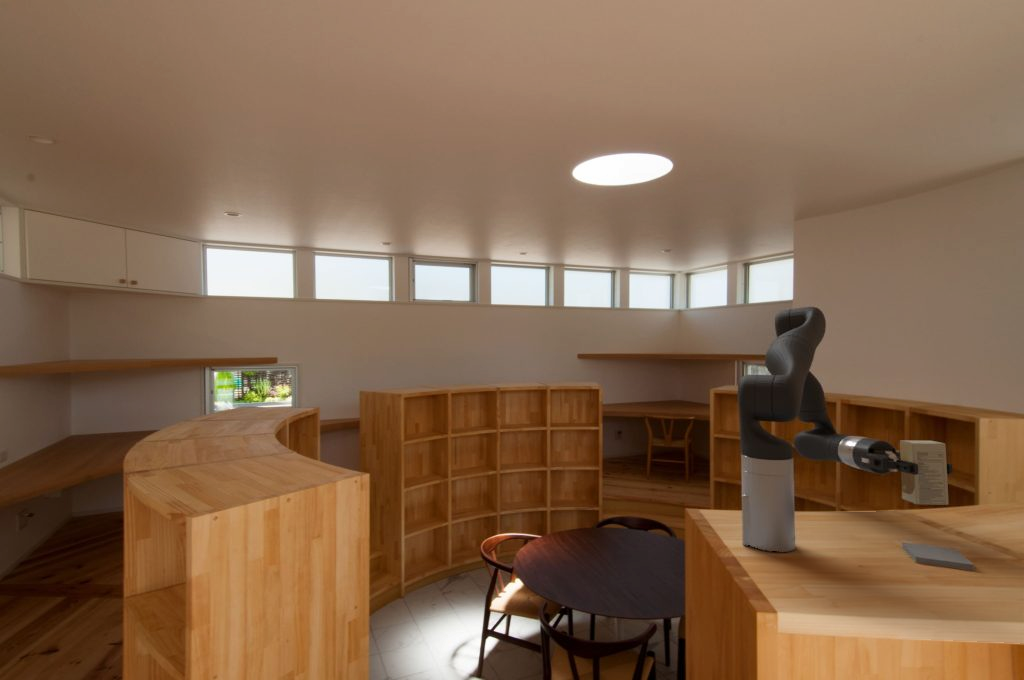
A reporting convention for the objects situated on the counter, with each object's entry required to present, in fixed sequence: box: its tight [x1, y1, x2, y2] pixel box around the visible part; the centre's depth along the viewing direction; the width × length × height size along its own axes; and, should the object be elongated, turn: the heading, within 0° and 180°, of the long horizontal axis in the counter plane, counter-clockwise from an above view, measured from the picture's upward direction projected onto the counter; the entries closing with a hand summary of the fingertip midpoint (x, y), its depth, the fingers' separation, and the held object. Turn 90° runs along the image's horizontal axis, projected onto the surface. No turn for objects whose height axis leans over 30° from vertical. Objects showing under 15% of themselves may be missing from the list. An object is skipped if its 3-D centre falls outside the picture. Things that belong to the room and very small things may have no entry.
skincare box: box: [899, 439, 950, 506], centre depth 100 cm, size 6×4×12 cm
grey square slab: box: [901, 541, 975, 571], centre depth 90 cm, size 8×8×1 cm
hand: (933, 469), depth 98 cm, fingers closed on skincare box, 6 cm apart
